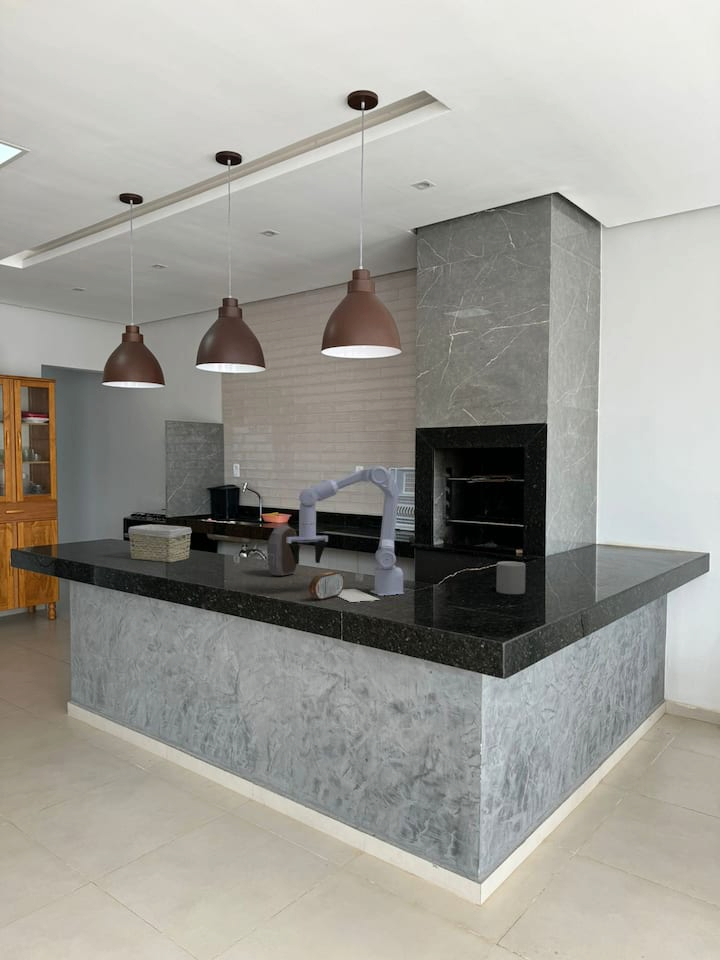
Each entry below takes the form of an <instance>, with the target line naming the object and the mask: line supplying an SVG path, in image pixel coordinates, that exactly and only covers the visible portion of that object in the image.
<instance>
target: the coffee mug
mask: <svg viewBox="0 0 720 960" xmlns="http://www.w3.org/2000/svg"><path fill="white" fill-rule="evenodd" d="M495 590H496V592H497V593H500V594H504V595H522V594H525V593H526V563H525V562H521V561H519V562H518V561H507V560H506V561H498V562H496V589H495Z"/></svg>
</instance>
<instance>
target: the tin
mask: <svg viewBox="0 0 720 960" xmlns="http://www.w3.org/2000/svg"><path fill="white" fill-rule="evenodd" d="M344 577H345V576H344V575H343V573H342V572H339V571H336V570H330V571H324V572H321V573H320V572H319V573H317V574H316V573H315V575H314V576H313V577H312V578H311V580H310V582H309V588H308V589H309V594H310V596H311V597H312V598H313V599H316V600H325V599H330V598H333V597H337V595H339V594H340V593H341V592H342V590H344V587H345V578H344Z"/></svg>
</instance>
